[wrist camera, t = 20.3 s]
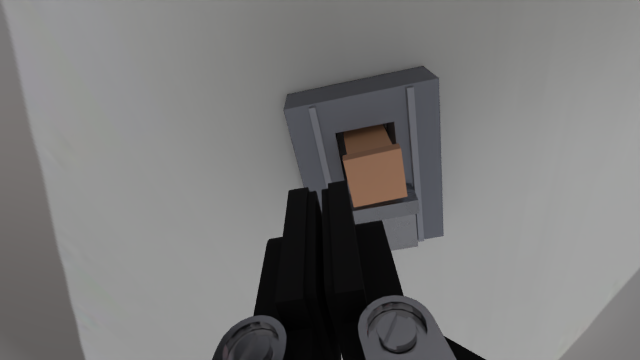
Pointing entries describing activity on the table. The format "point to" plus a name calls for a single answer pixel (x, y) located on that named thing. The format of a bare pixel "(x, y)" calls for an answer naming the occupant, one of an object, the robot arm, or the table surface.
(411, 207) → the shutter
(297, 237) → the robot arm
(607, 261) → the table surface
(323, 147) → the socket box
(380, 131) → the plug
